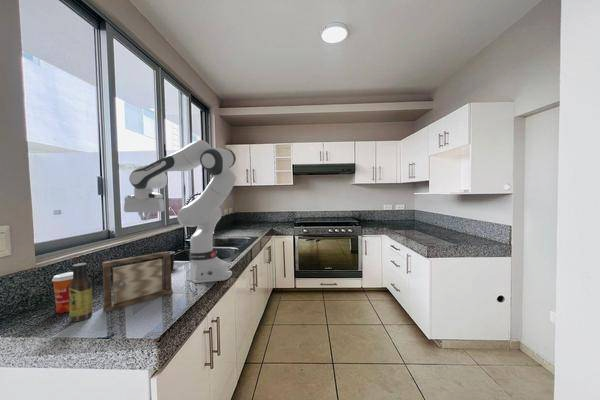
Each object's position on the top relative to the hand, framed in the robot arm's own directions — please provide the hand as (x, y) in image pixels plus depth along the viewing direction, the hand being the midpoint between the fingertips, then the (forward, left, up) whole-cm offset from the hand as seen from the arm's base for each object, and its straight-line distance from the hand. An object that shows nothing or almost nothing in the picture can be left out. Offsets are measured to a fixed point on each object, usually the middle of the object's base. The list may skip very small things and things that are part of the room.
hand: (144, 220), depth 135 cm
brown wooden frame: (-16, +31, -31) cm, 47 cm away
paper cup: (+8, +39, -31) cm, 51 cm away
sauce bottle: (-4, +46, -31) cm, 56 cm away
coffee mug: (-4, -12, -31) cm, 34 cm away
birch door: (-17, +32, -29) cm, 46 cm away
